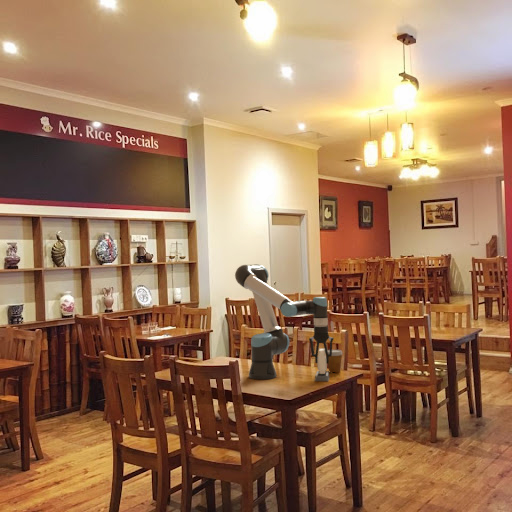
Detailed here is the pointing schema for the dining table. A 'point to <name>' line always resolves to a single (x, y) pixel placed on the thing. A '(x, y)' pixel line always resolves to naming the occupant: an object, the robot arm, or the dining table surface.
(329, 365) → the disposable coffee cup
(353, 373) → the dining table surface
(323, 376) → the track
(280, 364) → the dining table surface
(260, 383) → the dining table surface
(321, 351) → the door panel
